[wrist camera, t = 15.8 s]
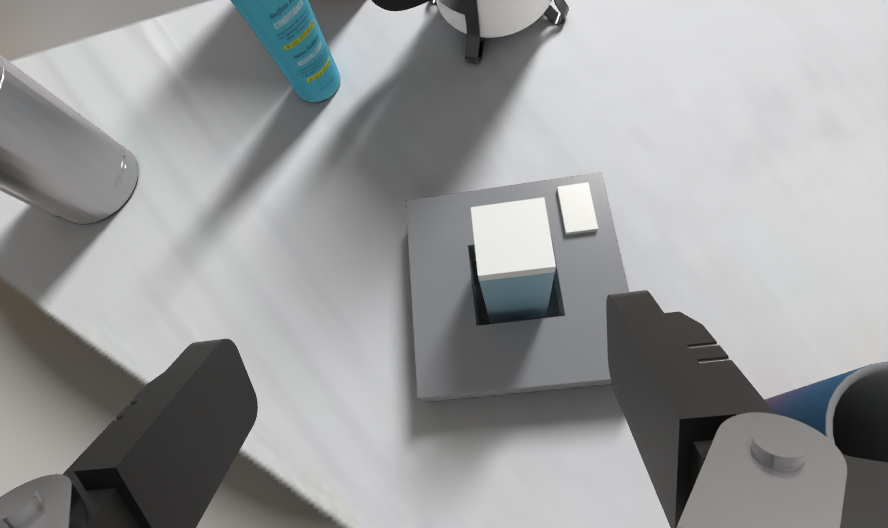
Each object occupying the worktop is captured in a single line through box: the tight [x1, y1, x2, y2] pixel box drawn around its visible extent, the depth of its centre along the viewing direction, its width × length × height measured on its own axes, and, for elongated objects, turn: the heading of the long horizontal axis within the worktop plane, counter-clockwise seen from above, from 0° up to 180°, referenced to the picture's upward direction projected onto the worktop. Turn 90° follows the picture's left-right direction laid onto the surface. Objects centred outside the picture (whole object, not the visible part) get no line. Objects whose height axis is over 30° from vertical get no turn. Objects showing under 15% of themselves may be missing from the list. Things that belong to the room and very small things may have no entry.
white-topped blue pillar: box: [471, 197, 556, 323], centre depth 35 cm, size 4×4×12 cm
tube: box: [231, 0, 340, 102], centre depth 42 cm, size 7×5×19 cm, turn 144°
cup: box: [765, 362, 888, 462], centre depth 27 cm, size 7×7×15 cm
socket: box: [406, 172, 629, 402], centre depth 38 cm, size 16×16×4 cm
